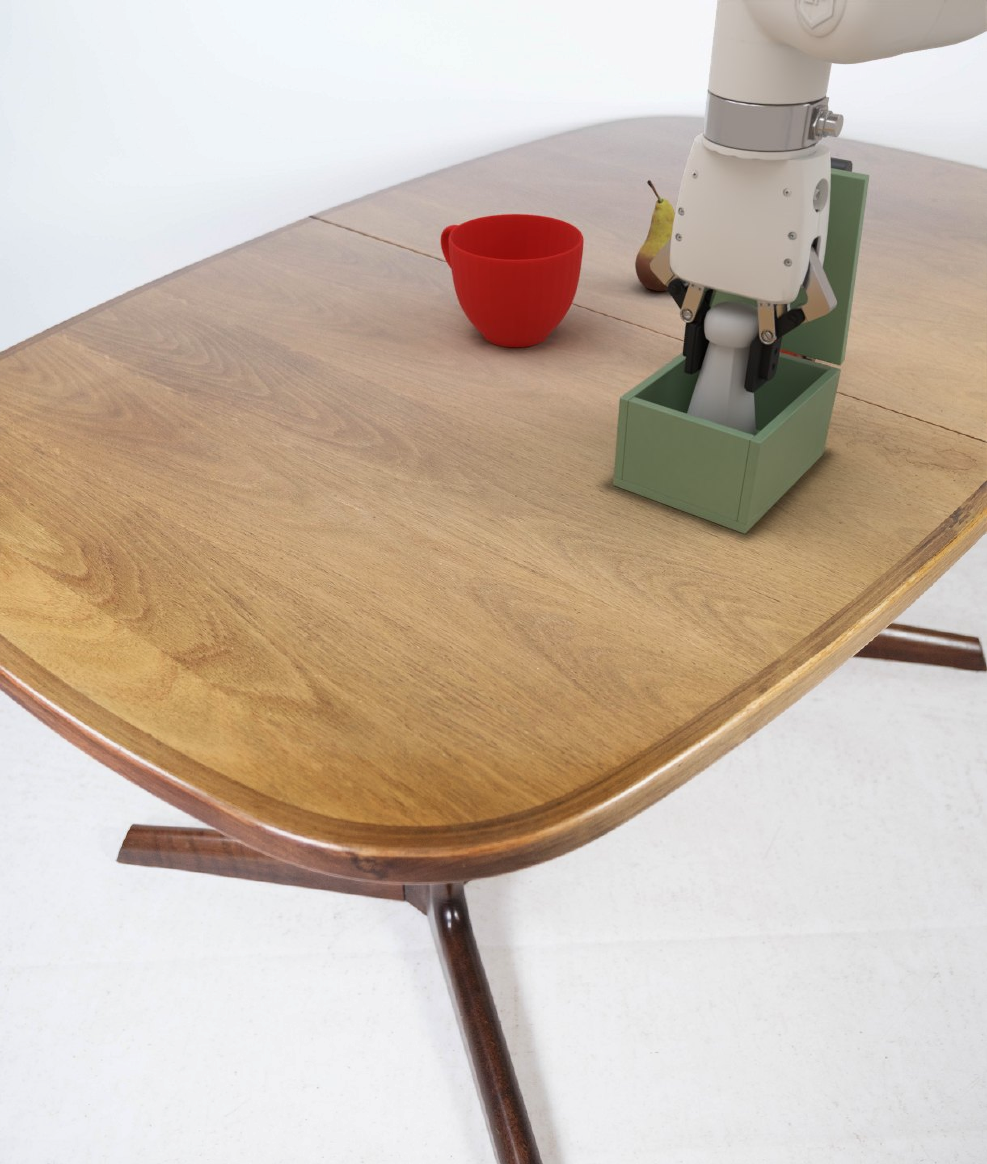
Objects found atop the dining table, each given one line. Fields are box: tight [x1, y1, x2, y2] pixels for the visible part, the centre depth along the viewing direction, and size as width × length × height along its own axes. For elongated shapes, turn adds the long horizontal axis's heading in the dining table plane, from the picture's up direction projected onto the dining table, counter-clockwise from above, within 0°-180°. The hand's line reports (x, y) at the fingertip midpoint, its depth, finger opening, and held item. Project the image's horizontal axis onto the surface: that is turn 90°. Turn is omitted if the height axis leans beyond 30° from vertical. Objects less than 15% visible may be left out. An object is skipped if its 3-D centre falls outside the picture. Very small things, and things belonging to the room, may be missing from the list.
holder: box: [612, 352, 842, 535], centre depth 86 cm, size 15×12×8 cm
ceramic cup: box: [440, 213, 584, 348], centre depth 107 cm, size 13×17×10 cm
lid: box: [711, 156, 870, 367], centre depth 83 cm, size 15×12×5 cm
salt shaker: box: [687, 301, 759, 436], centre depth 82 cm, size 6×6×13 cm
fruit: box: [634, 179, 676, 292], centre depth 115 cm, size 6×6×12 cm
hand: (727, 374), depth 81 cm, fingers closed on salt shaker, 4 cm apart
